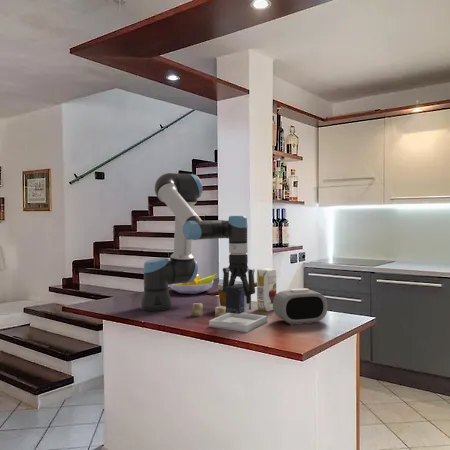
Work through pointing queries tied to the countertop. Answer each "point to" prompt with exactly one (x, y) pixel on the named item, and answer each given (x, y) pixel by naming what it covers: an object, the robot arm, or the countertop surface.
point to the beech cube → (220, 311)
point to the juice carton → (266, 288)
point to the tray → (238, 321)
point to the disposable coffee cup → (222, 294)
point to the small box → (235, 299)
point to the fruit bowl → (194, 285)
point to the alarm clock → (300, 306)
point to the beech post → (197, 309)
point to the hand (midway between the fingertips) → (238, 310)
